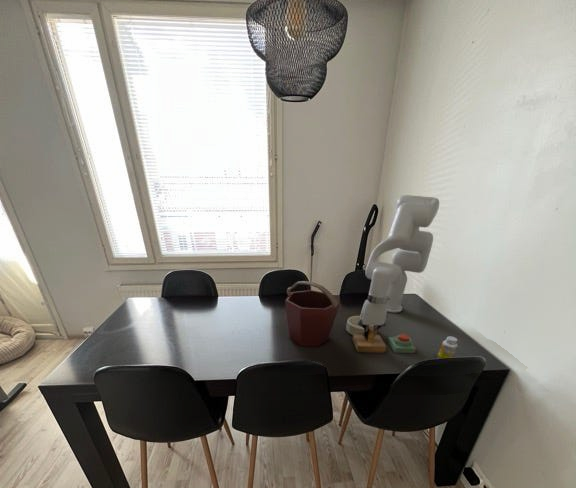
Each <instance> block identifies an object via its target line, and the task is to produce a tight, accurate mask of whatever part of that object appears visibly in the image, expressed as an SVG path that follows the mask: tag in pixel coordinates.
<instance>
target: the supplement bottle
mask: <svg viewBox="0 0 576 488" xmlns="http://www.w3.org/2000/svg"><path fill="white" fill-rule="evenodd" d="M457 342H458V339H457V338H456V337H455V336H447V337H446V339H445V340H443V341H442V343H441V346H440V348H439V351H438V353H437V356H436V358H437V359H438V358H449V357H453V358H454V356H455V353H456V350H457V349H458V343H457Z"/></svg>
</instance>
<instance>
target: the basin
mask: <svg viewBox="0 0 576 488" xmlns="http://www.w3.org/2000/svg"><path fill="white" fill-rule="evenodd" d="M359 320H360V315H353V316H350V317H348V318H347V321H346V325H345V326H346V327H345V331H346V332H347V333H348V334H350V335H351V336H353V334H364V328H363V327H361V326H359V325H358V324H357V323H358V322H359ZM371 326H372V328H373V325H371ZM375 335H378V330H377V331H376V333H375Z"/></svg>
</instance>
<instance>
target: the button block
mask: <svg viewBox="0 0 576 488" xmlns="http://www.w3.org/2000/svg"><path fill="white" fill-rule="evenodd" d="M399 335H400V334H398V335H395V336H388V339H387V342H388V344H389V345H390V348H391V349H392V350H393V352H394V353H401V354H402V353H407V354H416V351H417V347H416V346H415V345H414V343H413V339H411V338H410V337H409V340H408V342H402V341H400V340H398V337H399Z"/></svg>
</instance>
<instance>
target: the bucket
mask: <svg viewBox="0 0 576 488" xmlns="http://www.w3.org/2000/svg"><path fill="white" fill-rule="evenodd" d="M299 285H307V286H311V287H314V288H316V289H318V290H319V291H318V290H315V289H314V290H313V289H307V290H299V291H292V290H295V289H296V288H297V287H298V286H299ZM286 294H287V297H286V299H285V303H284V305H285V306H284V308H285V313H286V314H285V315H286V320H287V326H288V333H289V338H290V340H291V341H293V342H295V343H296V344H298V345H299V346H303V347H319V346H321V345H322V344H324V343H326V342H327V341H328V339H329V336H330V334H331V331H332V328H333V326H334V322H335V320H336V317H337V315H338V311H339V308H340V302H339V300H338V299H337V298H336V297H335V296H334V295H333V293H332V292H331V291H330V290H328V289H327V288H326V287H325V286H324V285H322V284H319V283H316V282H313V281H307V280H301V281H300V280H299V281H296V282H294V283H293V284H292V285H291V286H289V287H288V288H287V290H286Z"/></svg>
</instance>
